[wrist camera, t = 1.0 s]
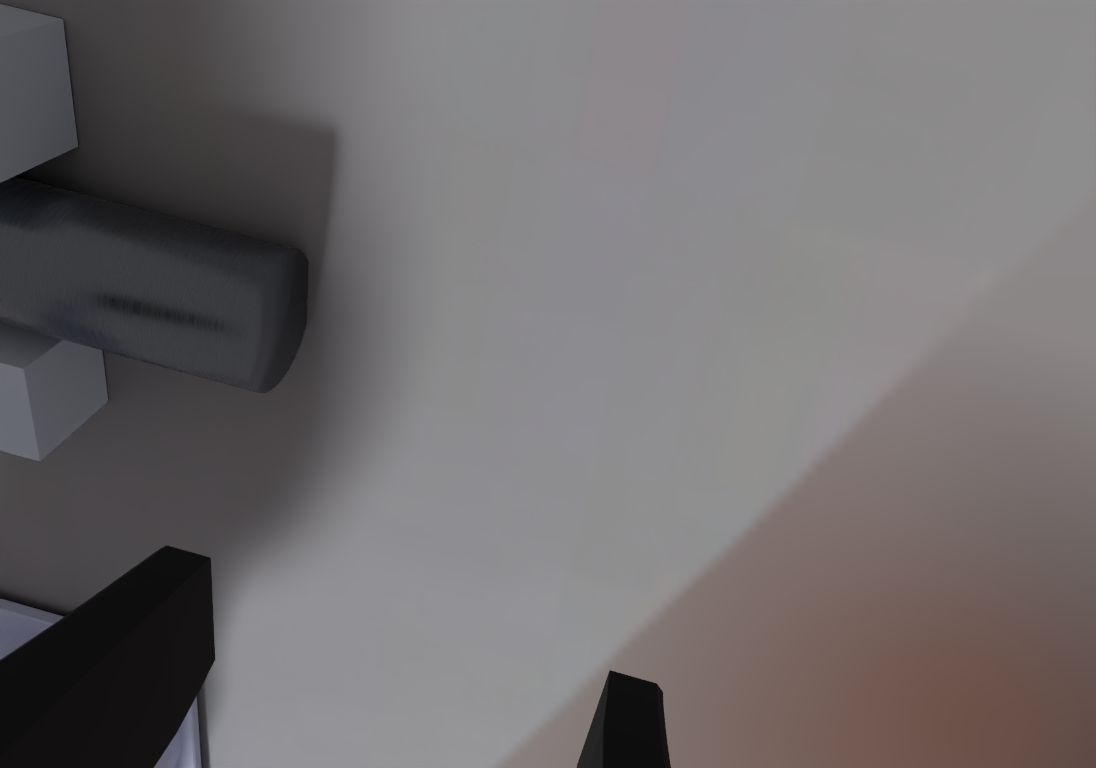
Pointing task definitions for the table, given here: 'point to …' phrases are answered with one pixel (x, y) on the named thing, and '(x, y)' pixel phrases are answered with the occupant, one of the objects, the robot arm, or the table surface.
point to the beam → (3, 152)
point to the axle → (150, 285)
